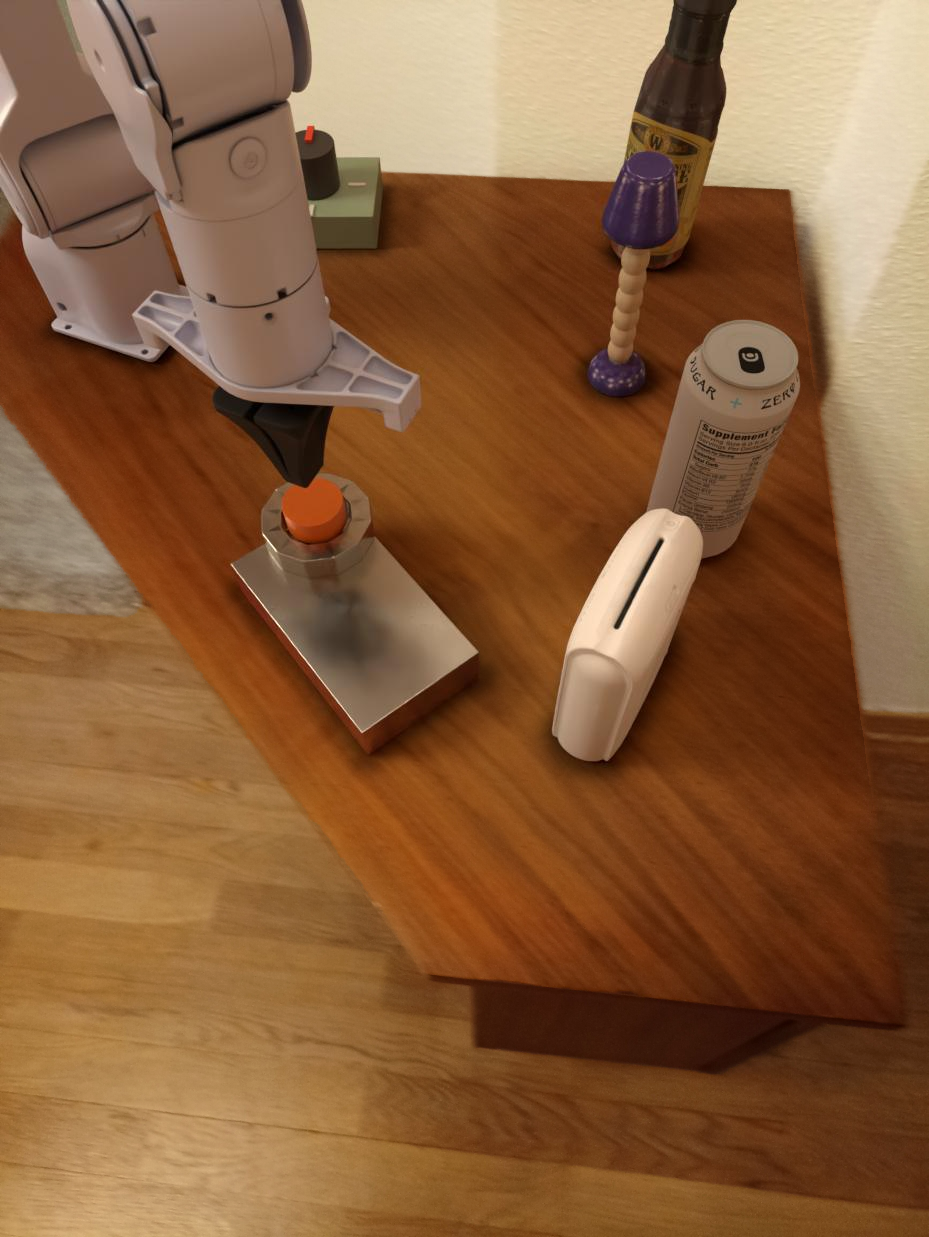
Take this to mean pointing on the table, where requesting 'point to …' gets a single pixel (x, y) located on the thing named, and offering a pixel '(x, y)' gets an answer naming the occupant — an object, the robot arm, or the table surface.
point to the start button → (314, 511)
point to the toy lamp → (634, 261)
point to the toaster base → (356, 621)
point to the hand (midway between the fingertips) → (304, 472)
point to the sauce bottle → (683, 108)
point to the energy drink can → (726, 427)
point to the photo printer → (625, 633)
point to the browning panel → (350, 207)
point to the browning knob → (318, 163)
